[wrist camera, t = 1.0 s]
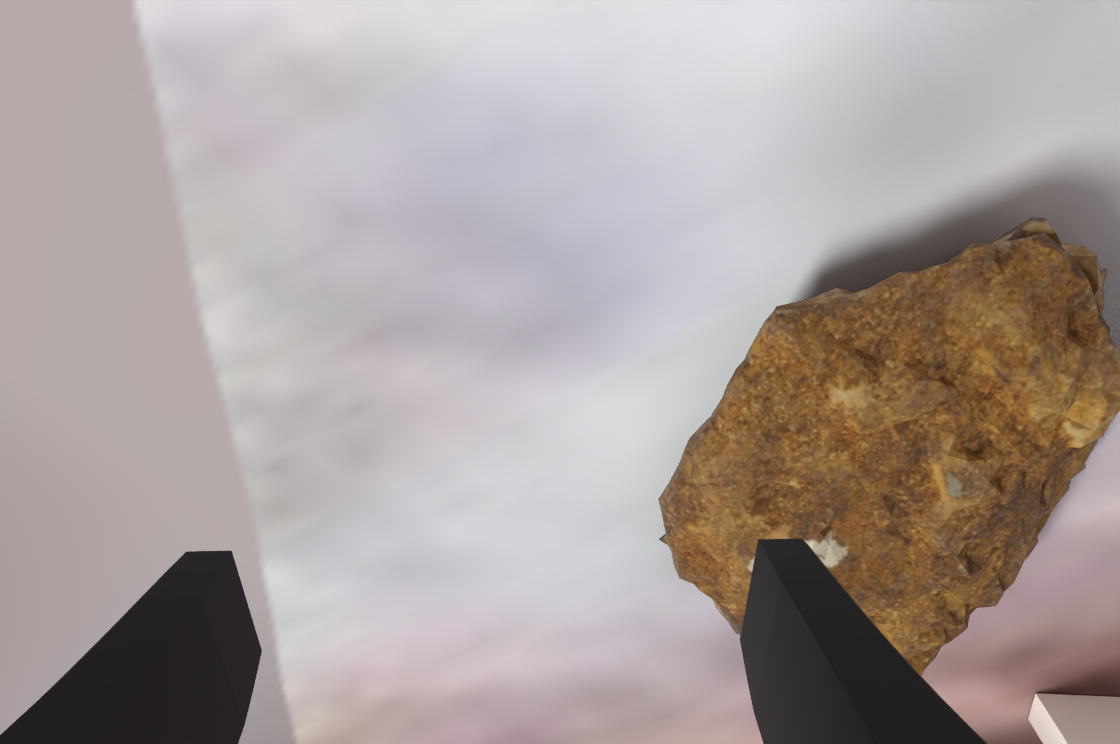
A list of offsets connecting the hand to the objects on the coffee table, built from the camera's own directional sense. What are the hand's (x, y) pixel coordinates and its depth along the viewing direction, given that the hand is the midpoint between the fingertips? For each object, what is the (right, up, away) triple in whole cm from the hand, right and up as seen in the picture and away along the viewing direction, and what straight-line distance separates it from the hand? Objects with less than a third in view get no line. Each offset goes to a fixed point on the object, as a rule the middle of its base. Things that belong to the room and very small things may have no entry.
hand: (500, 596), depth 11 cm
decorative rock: (+10, +1, +14) cm, 17 cm away
